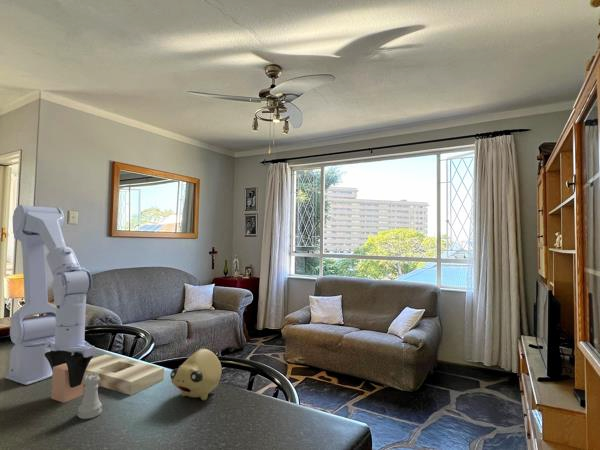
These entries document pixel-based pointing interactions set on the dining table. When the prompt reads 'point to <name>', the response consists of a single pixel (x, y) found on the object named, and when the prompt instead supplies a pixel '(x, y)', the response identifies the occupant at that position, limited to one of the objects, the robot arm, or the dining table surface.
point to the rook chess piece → (90, 398)
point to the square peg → (64, 385)
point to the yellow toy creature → (198, 374)
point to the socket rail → (124, 374)
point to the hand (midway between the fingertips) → (68, 383)
